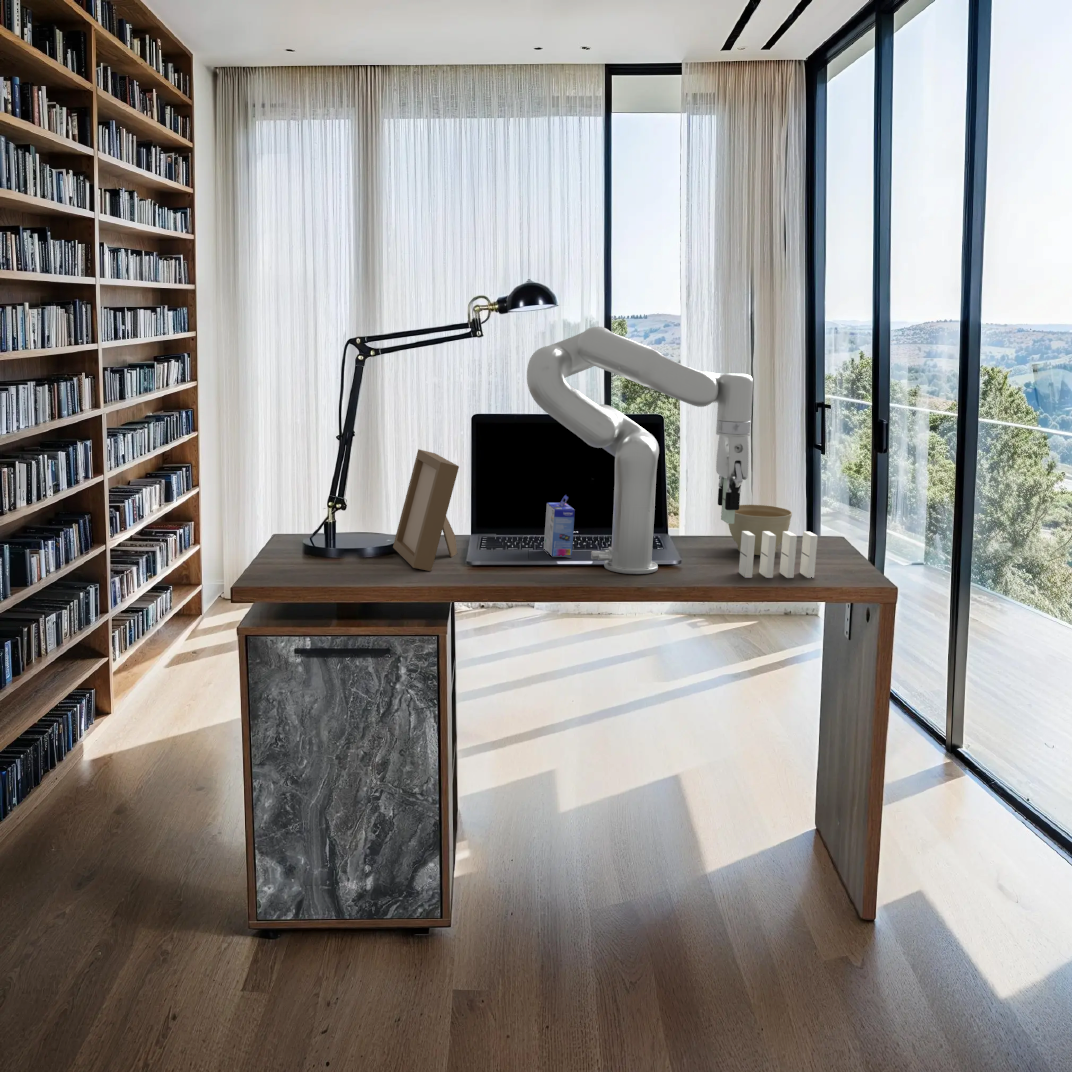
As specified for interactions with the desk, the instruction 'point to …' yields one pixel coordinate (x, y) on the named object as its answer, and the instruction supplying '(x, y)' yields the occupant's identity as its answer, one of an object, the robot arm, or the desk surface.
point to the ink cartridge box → (559, 528)
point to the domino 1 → (726, 515)
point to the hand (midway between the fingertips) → (728, 506)
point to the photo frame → (426, 511)
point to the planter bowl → (760, 523)
